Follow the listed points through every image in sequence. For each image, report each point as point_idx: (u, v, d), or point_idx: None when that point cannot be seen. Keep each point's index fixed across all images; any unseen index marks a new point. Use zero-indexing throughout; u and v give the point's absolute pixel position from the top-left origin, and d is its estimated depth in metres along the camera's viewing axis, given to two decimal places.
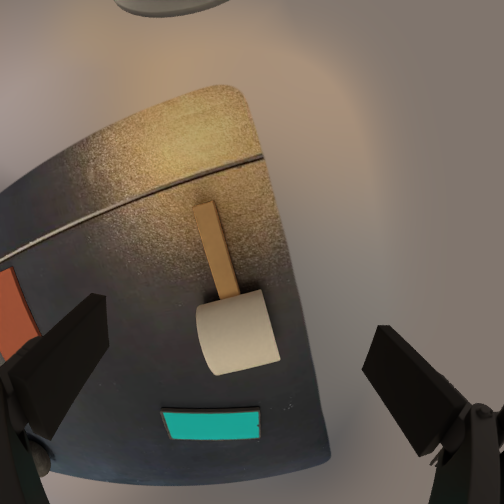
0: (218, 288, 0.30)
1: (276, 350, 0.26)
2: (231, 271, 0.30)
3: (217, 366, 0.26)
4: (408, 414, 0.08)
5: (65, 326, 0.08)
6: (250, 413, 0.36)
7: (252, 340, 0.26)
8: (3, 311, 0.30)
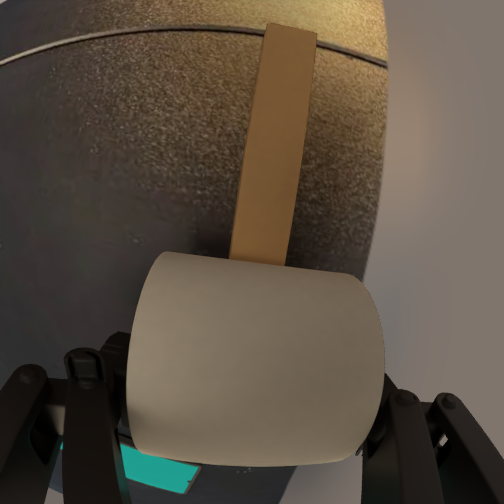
0: (239, 228, 0.11)
1: (353, 451, 0.07)
2: (293, 197, 0.11)
3: (159, 451, 0.06)
4: None
5: None
6: (184, 465, 0.19)
7: (315, 419, 0.06)
8: None
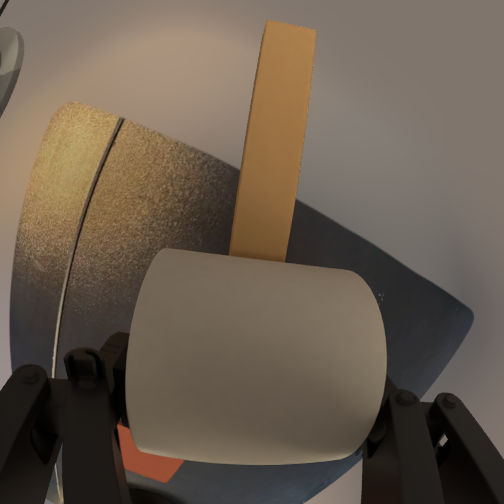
0: (239, 224, 0.11)
1: (355, 448, 0.07)
2: (293, 193, 0.11)
3: (159, 449, 0.06)
4: None
5: None
6: None
7: (316, 416, 0.06)
8: None
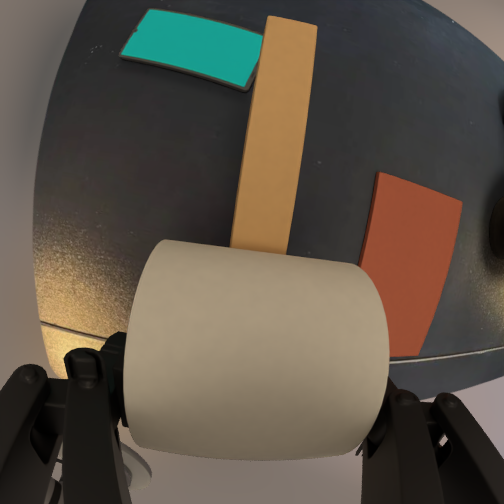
0: (240, 216, 0.11)
1: (357, 443, 0.07)
2: (294, 186, 0.11)
3: (157, 443, 0.06)
4: None
5: None
6: (131, 53, 0.22)
7: (318, 409, 0.06)
8: (391, 316, 0.31)
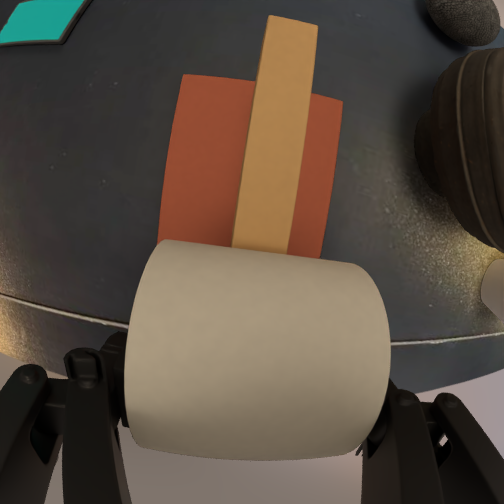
0: (241, 216, 0.11)
1: (358, 443, 0.07)
2: (295, 186, 0.11)
3: (158, 444, 0.06)
4: None
5: None
6: None
7: (320, 409, 0.06)
8: None
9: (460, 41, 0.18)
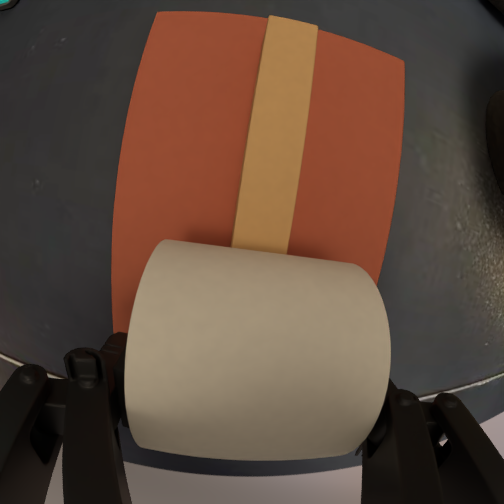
0: (241, 216, 0.11)
1: (358, 443, 0.07)
2: (295, 186, 0.11)
3: (158, 444, 0.06)
4: None
5: None
6: None
7: (320, 409, 0.06)
8: None
9: None
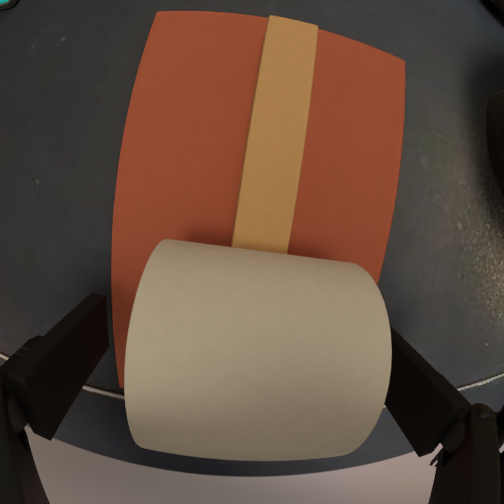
0: (241, 216, 0.11)
1: (359, 443, 0.07)
2: (295, 185, 0.11)
3: (158, 444, 0.06)
4: (408, 414, 0.08)
5: (65, 326, 0.08)
6: None
7: (321, 408, 0.06)
8: None
9: None
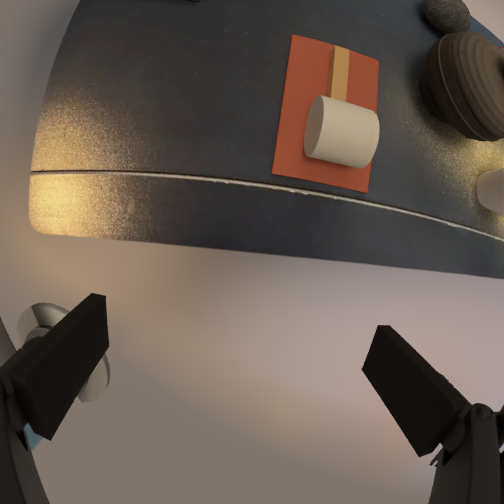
0: None
1: (377, 140, 0.28)
2: (345, 93, 0.32)
3: (328, 128, 0.27)
4: (408, 414, 0.08)
5: (65, 326, 0.08)
6: None
7: (364, 121, 0.27)
8: None
9: (445, 31, 0.29)
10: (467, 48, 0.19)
